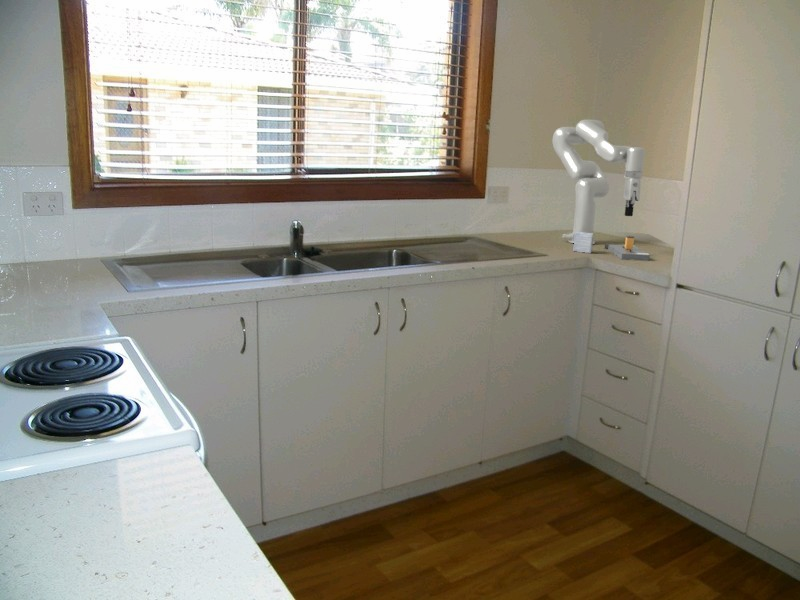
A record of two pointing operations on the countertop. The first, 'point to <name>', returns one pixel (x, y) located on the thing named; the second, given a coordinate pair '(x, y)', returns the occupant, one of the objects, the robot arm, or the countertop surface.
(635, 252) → the panel
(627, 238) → the toggle
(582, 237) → the medicine box
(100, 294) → the countertop surface
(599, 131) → the robot arm
